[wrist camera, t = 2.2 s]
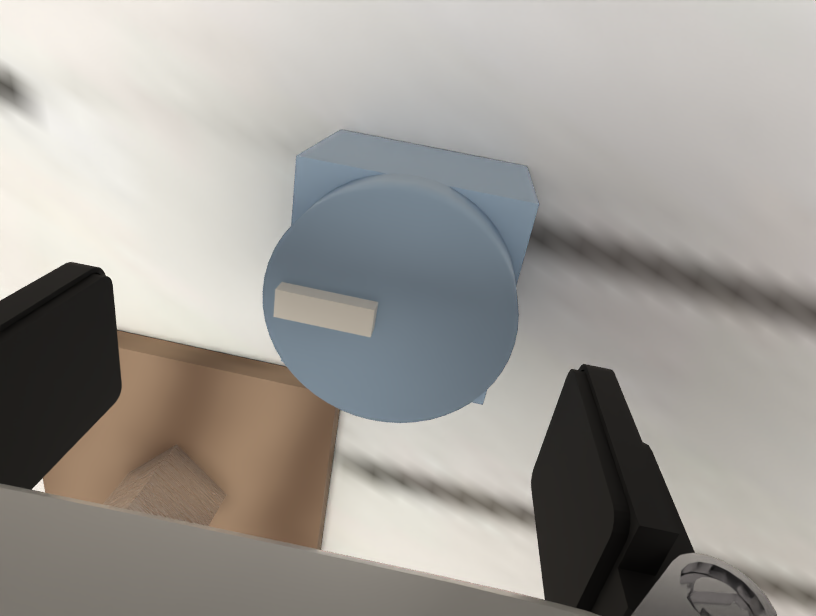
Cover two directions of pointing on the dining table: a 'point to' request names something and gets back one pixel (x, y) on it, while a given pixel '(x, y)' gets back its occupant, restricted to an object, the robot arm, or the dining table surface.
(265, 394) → the board
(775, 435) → the dining table surface
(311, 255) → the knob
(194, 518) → the pale wood block
